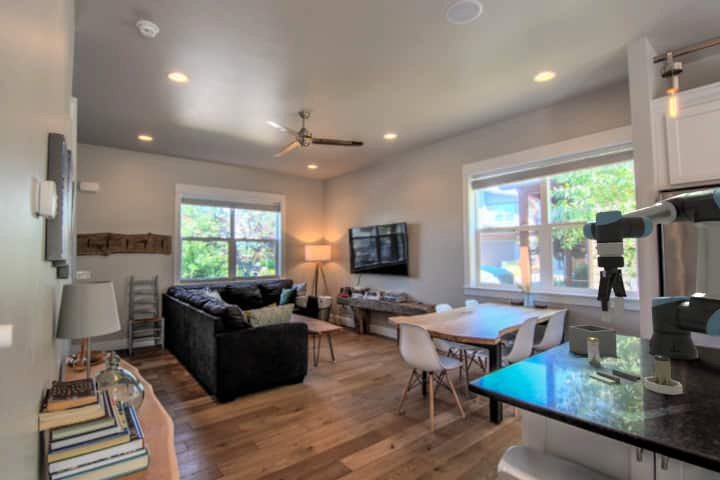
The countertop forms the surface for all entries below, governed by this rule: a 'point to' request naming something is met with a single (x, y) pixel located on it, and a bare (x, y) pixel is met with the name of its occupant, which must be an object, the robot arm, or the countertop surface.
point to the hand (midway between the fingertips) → (613, 318)
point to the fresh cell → (593, 350)
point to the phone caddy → (582, 332)
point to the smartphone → (581, 353)
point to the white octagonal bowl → (663, 386)
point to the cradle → (616, 377)
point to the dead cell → (662, 370)
